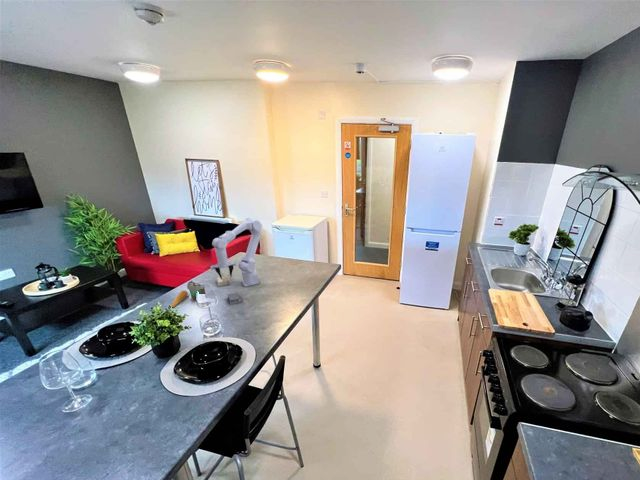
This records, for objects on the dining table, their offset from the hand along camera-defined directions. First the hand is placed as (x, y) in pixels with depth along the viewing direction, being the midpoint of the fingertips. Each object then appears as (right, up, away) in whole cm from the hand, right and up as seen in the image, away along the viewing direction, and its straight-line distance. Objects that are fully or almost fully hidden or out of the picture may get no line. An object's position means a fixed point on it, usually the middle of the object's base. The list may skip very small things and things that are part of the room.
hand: (226, 277), depth 181 cm
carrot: (-24, -15, -11) cm, 30 cm away
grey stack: (+8, -14, -5) cm, 17 cm away
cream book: (0, 0, 0) cm, 0 cm away
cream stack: (-10, -4, +15) cm, 19 cm away
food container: (-15, -13, -5) cm, 21 cm away
